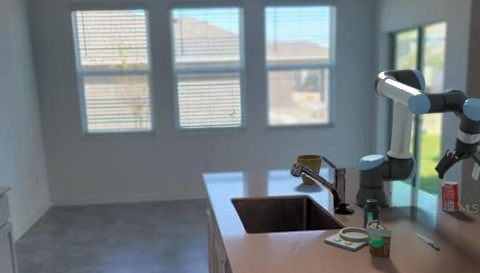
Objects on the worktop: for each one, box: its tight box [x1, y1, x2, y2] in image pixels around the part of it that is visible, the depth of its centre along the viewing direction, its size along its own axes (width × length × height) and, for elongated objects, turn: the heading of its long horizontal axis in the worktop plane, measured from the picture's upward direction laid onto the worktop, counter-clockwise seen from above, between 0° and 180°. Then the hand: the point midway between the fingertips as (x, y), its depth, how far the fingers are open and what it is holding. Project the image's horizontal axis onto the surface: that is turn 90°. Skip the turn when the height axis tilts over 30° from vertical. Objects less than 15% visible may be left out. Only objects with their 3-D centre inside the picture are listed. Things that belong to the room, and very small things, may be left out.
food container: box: [366, 220, 393, 258], centre depth 149 cm, size 12×6×10 cm, turn 5°
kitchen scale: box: [323, 226, 369, 252], centre depth 162 cm, size 13×17×2 cm
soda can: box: [441, 180, 460, 213], centre depth 192 cm, size 7×7×13 cm
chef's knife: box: [414, 232, 441, 252], centre depth 158 cm, size 19×1×3 cm
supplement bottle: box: [362, 199, 382, 229], centre depth 172 cm, size 7×7×12 cm
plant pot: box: [295, 154, 323, 185], centre depth 250 cm, size 15×15×16 cm
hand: (457, 180), depth 168 cm, fingers open, 13 cm apart
